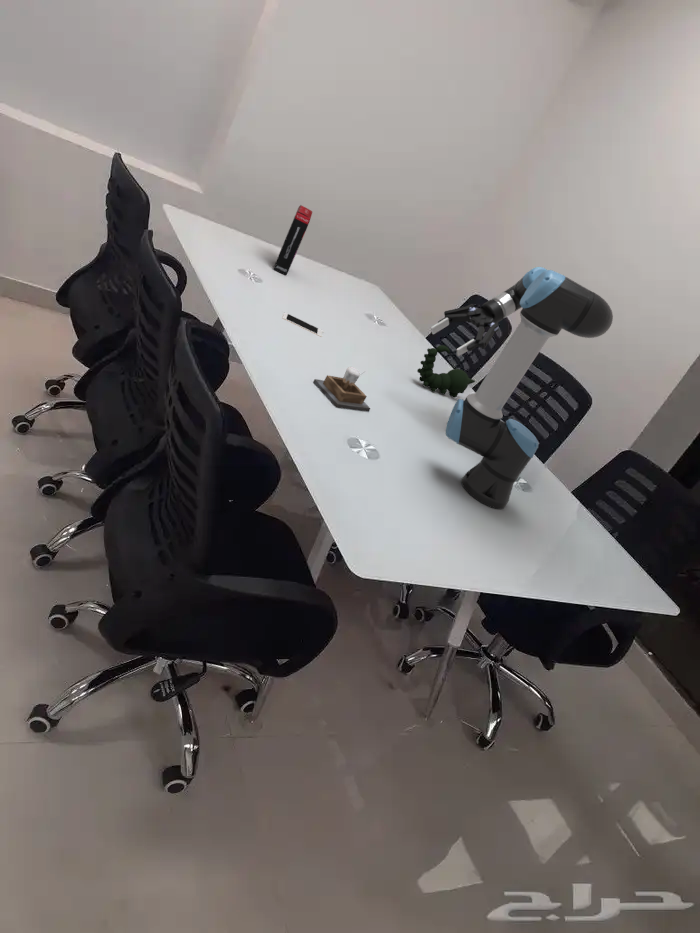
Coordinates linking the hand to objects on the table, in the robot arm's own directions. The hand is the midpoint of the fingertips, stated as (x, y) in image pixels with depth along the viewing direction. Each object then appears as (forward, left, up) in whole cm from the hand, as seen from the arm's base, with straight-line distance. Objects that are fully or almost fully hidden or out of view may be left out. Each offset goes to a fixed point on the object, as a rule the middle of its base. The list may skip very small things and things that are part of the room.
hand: (444, 341), depth 229 cm
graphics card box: (+116, -16, -28) cm, 120 cm away
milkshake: (+5, +25, -27) cm, 37 cm away
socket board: (+5, +25, -28) cm, 37 cm away
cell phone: (+57, +8, -28) cm, 64 cm away
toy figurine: (+21, -37, -28) cm, 51 cm away
